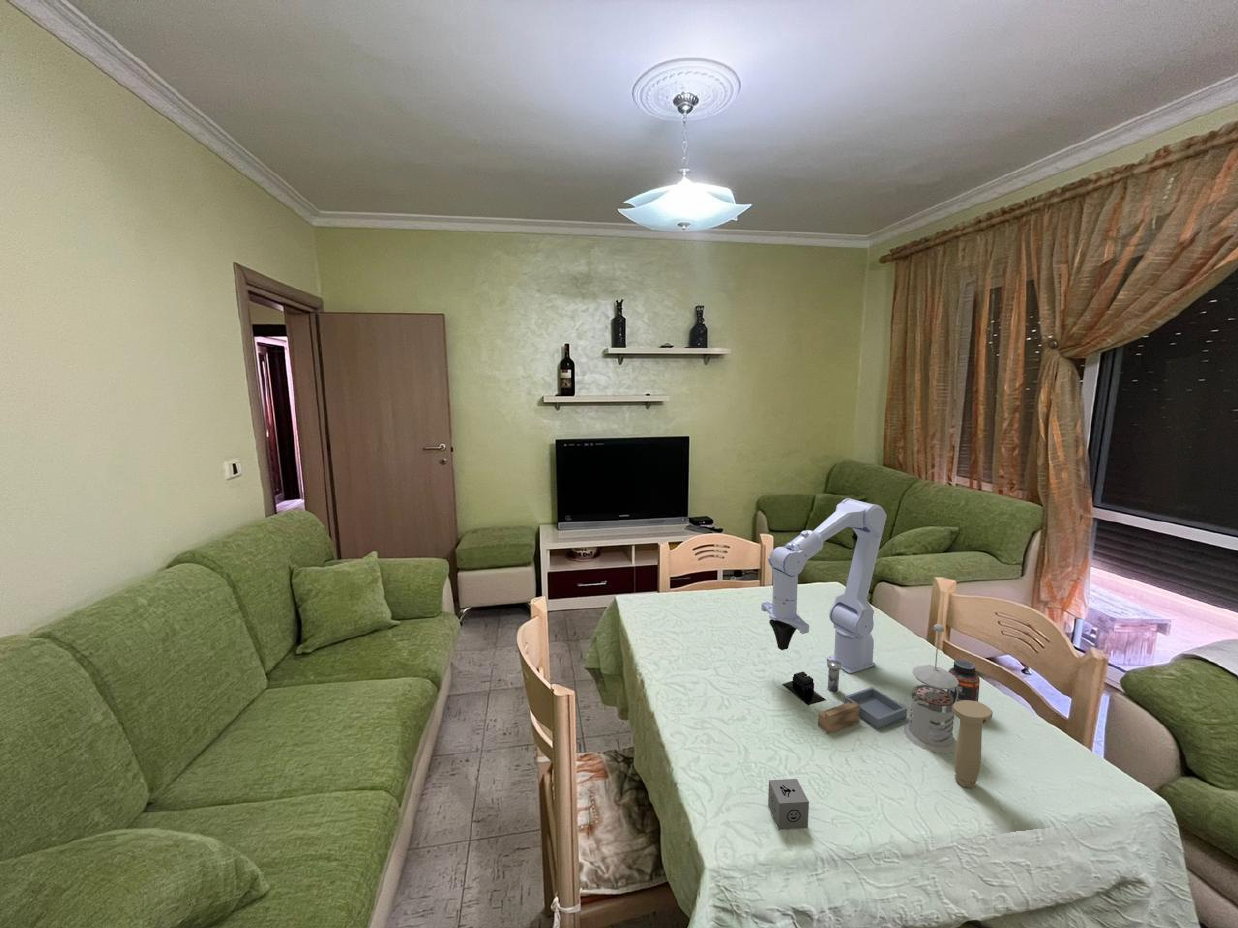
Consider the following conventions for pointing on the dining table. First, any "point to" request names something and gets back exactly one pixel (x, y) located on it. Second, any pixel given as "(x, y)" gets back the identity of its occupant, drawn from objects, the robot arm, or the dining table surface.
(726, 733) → the dining table surface
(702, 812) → the dining table surface
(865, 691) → the tray
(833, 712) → the bar
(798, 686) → the build plate
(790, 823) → the dice cube
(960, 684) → the supplement bottle
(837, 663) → the pin
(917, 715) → the french press
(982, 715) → the handle
